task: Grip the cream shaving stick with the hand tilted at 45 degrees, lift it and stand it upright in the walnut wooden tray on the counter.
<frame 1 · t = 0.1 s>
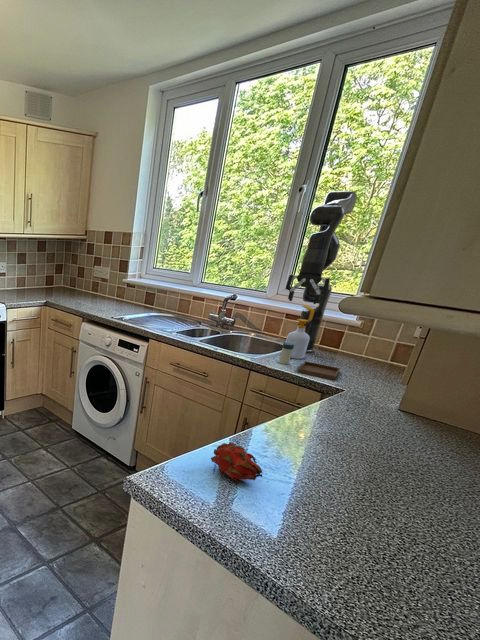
hand: (302, 302, 165), 29 cm above the worktop, tool pointing down, fingers open, 8 cm apart
shaving stick: (283, 362, 186), on the worktop
tray: (318, 372, 175), on the worktop
soap bottle: (292, 356, 197), on the worktop
dragon fruit: (233, 476, 97), on the worktop
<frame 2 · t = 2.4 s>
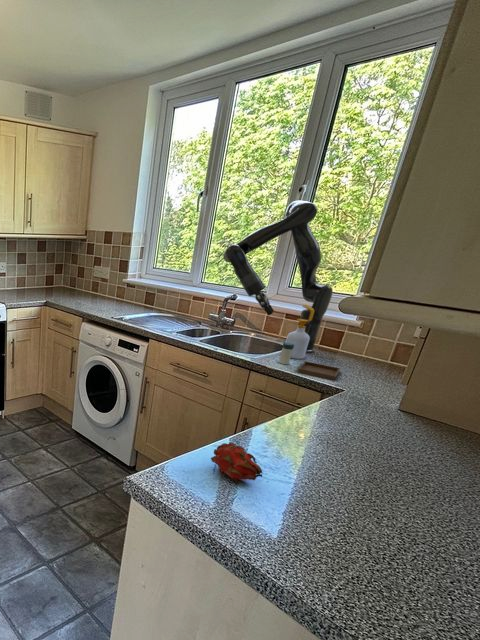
hand: (271, 313, 186), 21 cm above the worktop, tool tilted 40°, fingers open, 8 cm apart
nothing on the worktop moved.
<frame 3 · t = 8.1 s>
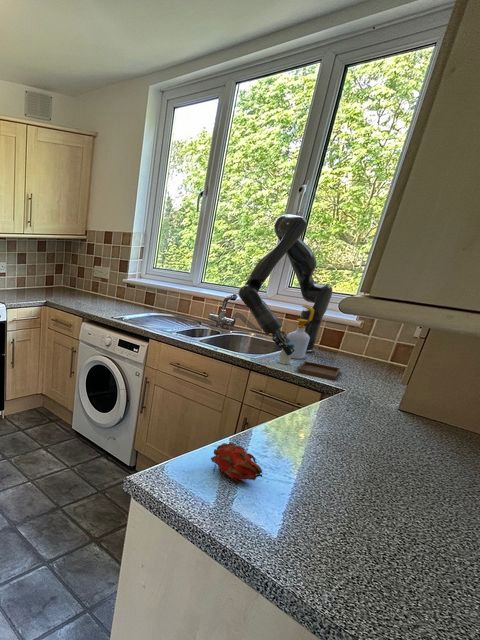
hand: (291, 353, 183), 5 cm above the worktop, tool tilted 45°, fingers closed on shaving stick, 4 cm apart
shaving stick: (283, 362, 186), on the worktop, touching gripper
everything else where it was.
when the fingers open (6 cm above the worktop, at t = 16.1 s): shaving stick stays where it is, resting on tray.
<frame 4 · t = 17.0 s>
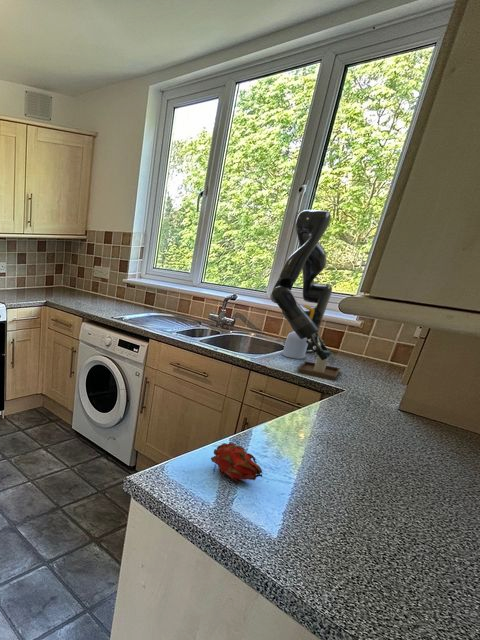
hand: (326, 357, 172), 7 cm above the worktop, tool tilted 45°, fingers open, 8 cm apart
shaving stick: (318, 371, 175), resting on tray
everything else where it was.
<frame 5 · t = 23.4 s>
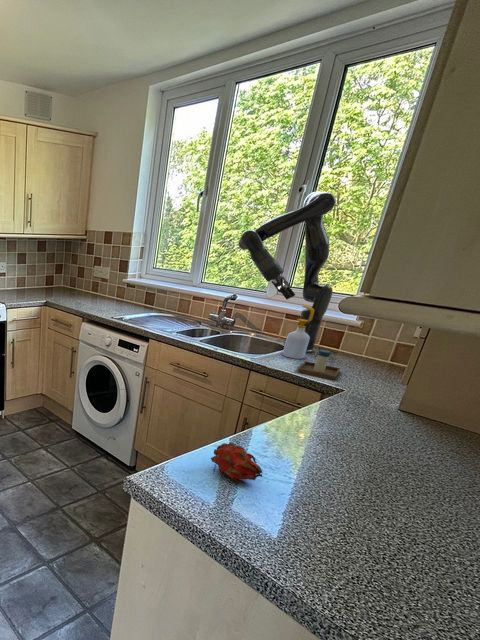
hand: (291, 297, 182), 29 cm above the worktop, tool tilted 45°, fingers open, 8 cm apart
nothing on the worktop moved.
at the end: shaving stick inside the target area in the tray (0.1 cm from its centre), point 0.5 cm above the tray's base; shaving stick tilted 0°; the gripper is holding nothing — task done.
